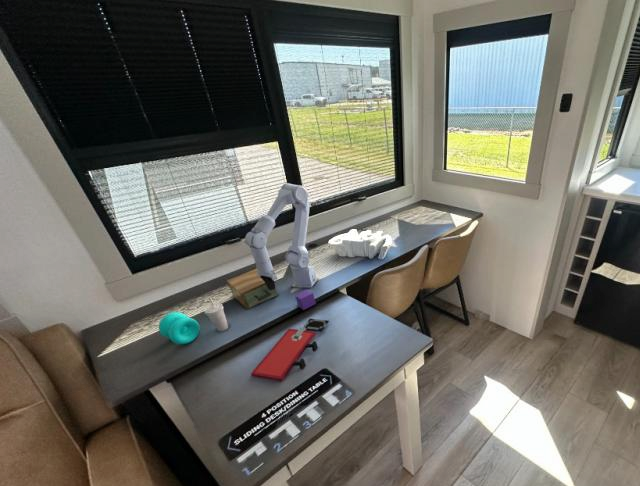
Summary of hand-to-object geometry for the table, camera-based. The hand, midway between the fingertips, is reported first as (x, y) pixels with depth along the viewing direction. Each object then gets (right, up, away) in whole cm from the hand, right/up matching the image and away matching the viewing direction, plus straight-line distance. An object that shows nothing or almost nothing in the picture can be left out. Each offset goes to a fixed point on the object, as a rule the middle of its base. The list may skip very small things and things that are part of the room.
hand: (272, 289), depth 135 cm
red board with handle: (+19, -22, -25) cm, 38 cm away
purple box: (+16, -7, -3) cm, 17 cm away
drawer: (-7, -3, +3) cm, 9 cm away
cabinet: (-10, -3, +6) cm, 12 cm away
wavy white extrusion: (+35, +20, +35) cm, 54 cm away
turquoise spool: (-26, -19, -17) cm, 36 cm away
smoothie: (-14, -16, -13) cm, 25 cm away
